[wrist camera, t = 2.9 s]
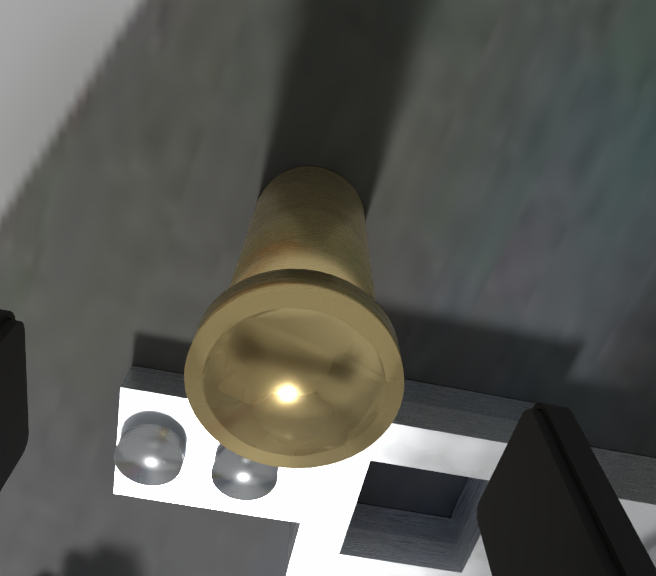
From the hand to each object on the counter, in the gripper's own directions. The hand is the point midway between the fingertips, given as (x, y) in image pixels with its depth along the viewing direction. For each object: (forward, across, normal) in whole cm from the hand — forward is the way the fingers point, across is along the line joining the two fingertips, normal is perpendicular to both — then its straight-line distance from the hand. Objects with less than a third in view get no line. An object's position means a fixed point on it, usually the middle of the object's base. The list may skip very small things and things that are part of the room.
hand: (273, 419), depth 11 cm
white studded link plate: (+11, -8, +12) cm, 18 cm away
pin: (+12, -1, +1) cm, 12 cm away
